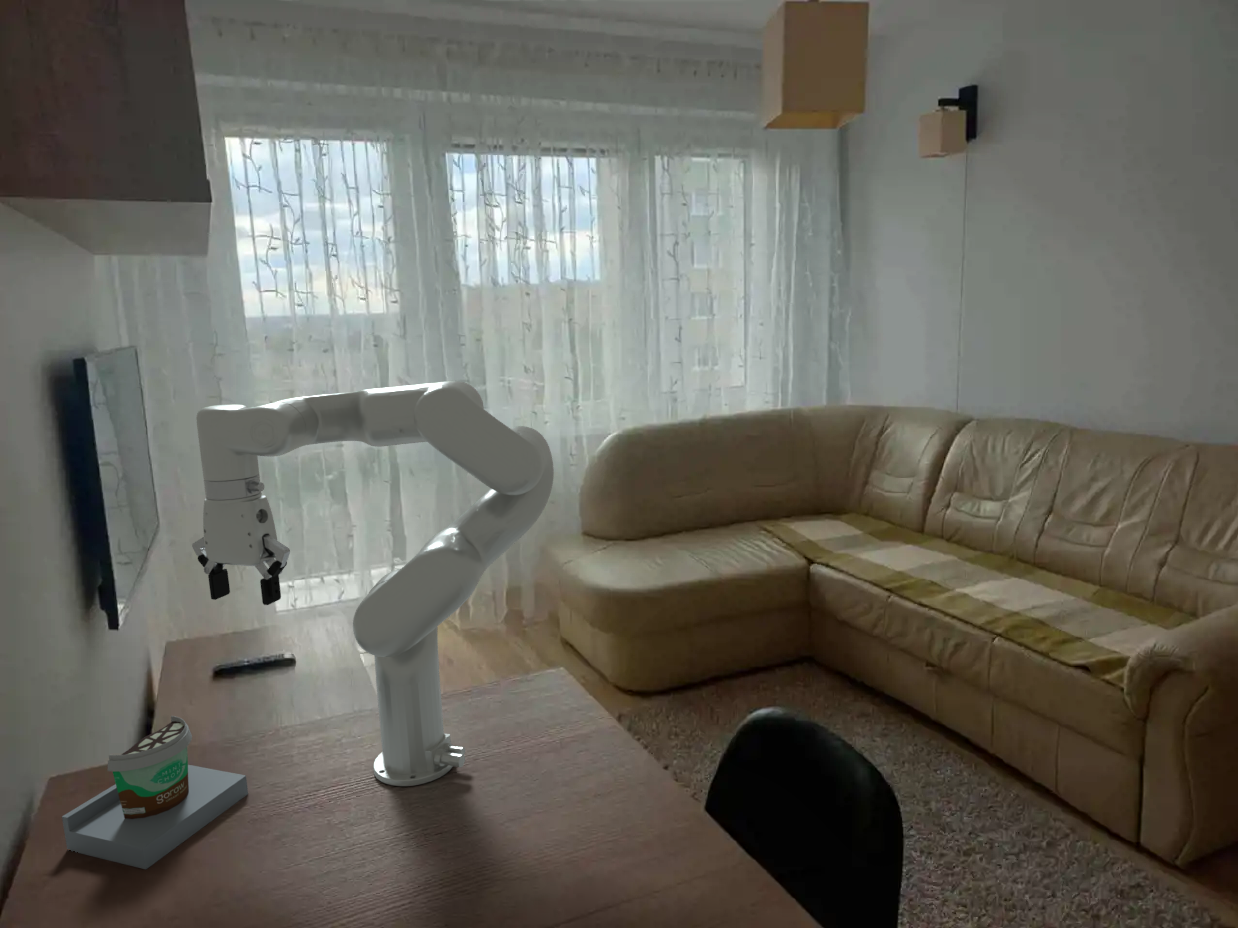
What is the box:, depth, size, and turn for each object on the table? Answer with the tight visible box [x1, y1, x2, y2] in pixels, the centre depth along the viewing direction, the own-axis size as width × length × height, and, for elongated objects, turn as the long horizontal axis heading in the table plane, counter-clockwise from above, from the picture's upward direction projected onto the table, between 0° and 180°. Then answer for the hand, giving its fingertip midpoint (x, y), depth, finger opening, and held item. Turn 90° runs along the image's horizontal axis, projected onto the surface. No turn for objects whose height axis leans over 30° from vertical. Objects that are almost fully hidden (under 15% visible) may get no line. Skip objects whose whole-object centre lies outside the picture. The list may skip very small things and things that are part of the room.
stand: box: [61, 764, 249, 870], centre depth 119 cm, size 14×18×5 cm
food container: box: [107, 715, 193, 819], centre depth 118 cm, size 12×6×10 cm, turn 166°
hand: (246, 599), depth 126 cm, fingers open, 9 cm apart
